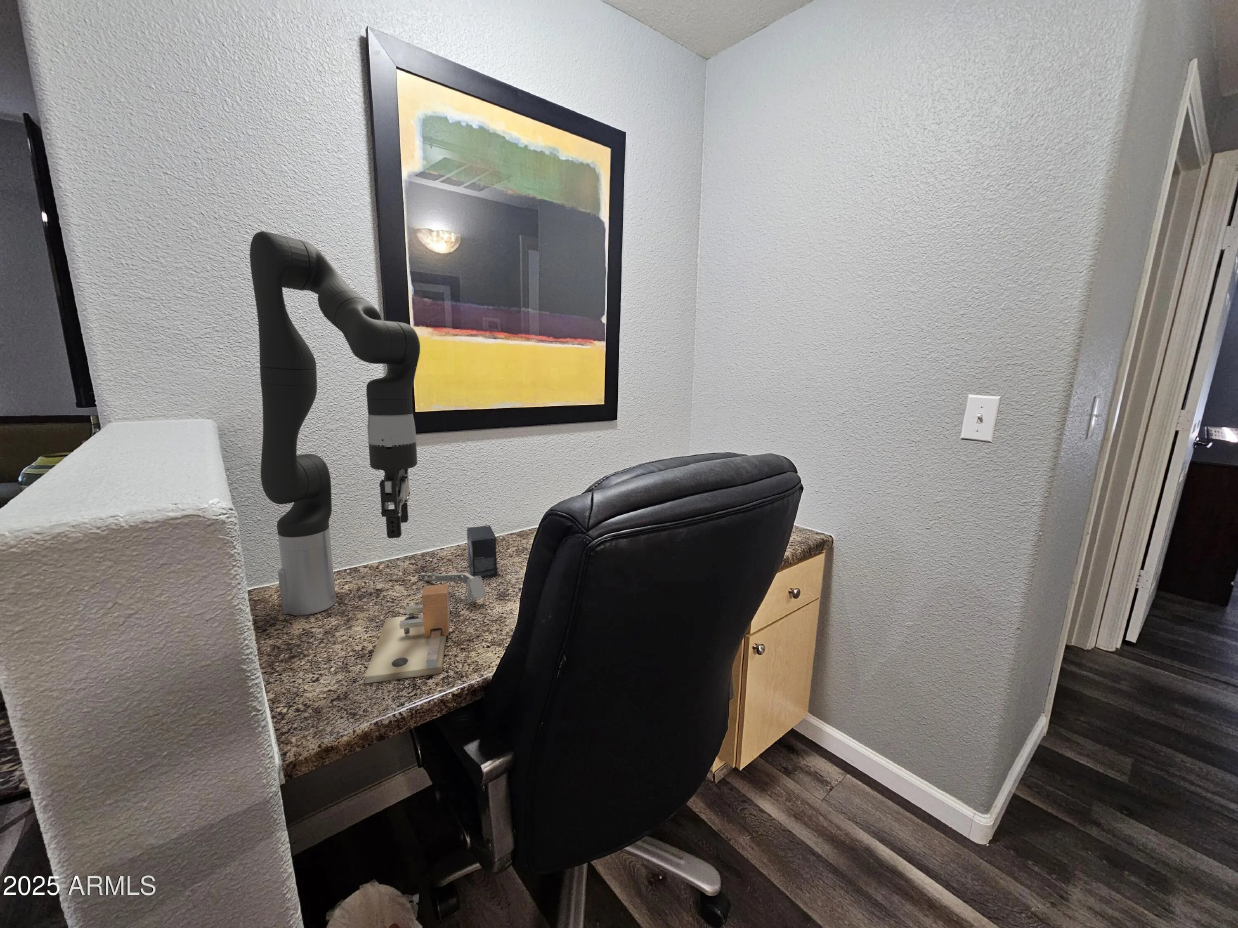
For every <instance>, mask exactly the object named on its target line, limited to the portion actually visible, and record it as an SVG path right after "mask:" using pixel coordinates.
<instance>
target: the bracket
mask: <svg viewBox="0 0 1238 928" xmlns="http://www.w3.org/2000/svg"><path fill="white" fill-rule="evenodd" d="M419 574H420V577H421V581H424V582H447V583H449V582H450V583H451V582H455V583H458V582H459V583H463V584H466V587H465V589H464V590H465V592H464V597H463V598H464V601H465V603H466V604H469V603H470V604H471V603H472V602H473V601H478V600H480V599H483V598H485V597H487V591H486V588H485V585H484V582H483V578H481V576H474V577H473V576H472V574H470V573H467V572H460V573H447V574H445V573H444V574H440V573H439V574H438V573H437V572H436V571H435V572H432V573H430V572H429V573H427V572H422V573H419ZM426 576H427V577H429V576H431V577H435V578H426ZM479 577H480V578H479Z"/></svg>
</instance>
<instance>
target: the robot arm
mask: <svg viewBox="0 0 1238 928" xmlns="http://www.w3.org/2000/svg"><path fill="white" fill-rule="evenodd" d="M249 245H250V247H249V262H250V263H249V265H250V272H251V273H250V274H251V280H252V286H253V287H252V288H253V292H254V299H255V307H256V308H255V309H256V313H257V314H256V315H257V324H258V339H259V341H258V342H259V343H258V345H259V348H258V349H259V375H260V376H259V378H260V387H261V389H260V390H261V399H262V445H261V459H260V481H261V486H262V490H263V493H264V494H265V496H266V497H267V498H268V499H269V501H270V502H272V503H274V504H276V505H288V504H291V503H293V504H292V506H291V508H289V510H288V511H287V512H286V513H285V514H284V515H282V516H281V517H280V518H279V519H278V521H277V523H276V531H277V537H278V538H277V539H278V540H277V541H278V548H279V556H280V564H281V565H280V566H281V568H280V569H279V570H278V571H277V577H278V585H279V594H280V600H281V601H280V602H281V609H282V615H283V614H284V615H285V614H287V615H291V616H292V615H294V616H306V615H307V616H308V615H313V614H316V613H320V612H322V611H323V612H324V611H325V610H328V609H329V608H331V607H332V606H334V605H335V604H336V603H337V596H336V594H337V593H336V587H335V586H336V585H335V574H334V566H333V565H334V563H333V561H334V560H333V554H332V553H333V552H332V551H333V550H332V543H331V531H330V530H331V529H330V518H331V516H332V513H333V511H332V510H333V508H332V507H333V506H332V480H331V479H332V477H331V473H330V469H329V467H328V465H327V463H326V462H325V460H324V459H323V458H322V457H320V456H318V455H317V454H314V453H303V454H297V451H298V450H297V447H298V446H297V445H298V437H299V433H300V430H301V428H302V426H303V424H304V422H305V420H306V418H307V416H308V414H309V412H310V410H311V409H312V407H313V405H314V402H315V401H316V397H317V394H318V393H317V392H318V378H317V377H318V376H317V375H318V373H317V371H318V370H317V361H316V359H315V356H314V353H313V352H312V350H311V348H310V347H309V345H308V344H307V342H306V340H305V339H304V337H302V335H301V333H300V332H299V331H298V330H297V329H298V328H296V326H295V324H294V323H293V321H292V319H291V317H290V315H289V313H288V310H287V307H286V304H285V299H284V290H283V289H290V290H294V291H295V290H297V291H308V292H312V293H314V294H316V295H317V304H318V307H319V310H320V311H321V313H322V315H323V316H324V318H326V319H327V321H329V322H330V323H331V324H332V325H333V326H334V327H335V328H336V329H338V330H339V331H340V332H341V333H342V334H343V337H344V338H345V340H346V342H347V345H348V346H349V349H350V350H351V353H352V354H353V355H354V356H355V357H356V358H358V359H359V360H361V361H362V362H365V363H366V364H367V363H368V364H371V365H372V364H374V365H375V364H377V365H379V364H380V365H389V367H388V369H387V373H386V374H385V375H384V376H382V377H379V378H374V379H371V380H369V382H367V384H366V389H365V392H366V404H367V405H366V407H367V443H368V444H367V445H368V453H369V454H368V456H369V466H370V469H373V470H375V471H376V470H377V471H383V472H384V476H383V479H381V480H380V482H379V489H380V490H379V491H380V493H379V495H380V509H381V510H380V514H381V517H382V518H385V524H386V526H385V528H386V537H387V538H388V539H398V538H401V537H402V532H403V531H402V524H404V523H405V524H406V523H408V521H409V506H408V502H409V500H410V495H411V492H410V477H409V469H412V468H415V467H416V466H417V465H418V453H417V452H418V451H417V450H418V449H417V433H416V432H417V431H416V425H415V424H416V423H415V418H414V409H413V408H414V407H413V386H414V383H415V382H414V381H415V379H416V378H415V377H416V373H417V372H416V371H417V369H418V363H419V360H420V353H421V342H420V339H419V335H418V334H417V331H416V330H415V328H414V327H412V326H411V325H410V324H408V323H406V322H401V321H400V322H399V321H391V320H383V319H382V315H381V314H380V312H379V310H378V309H377V308H376V307H375V306H374V305H373V304H372V303H371V302H369V301H368V300H367V299H366V298H365V297H364V296H362V295H361V294H360V293H358V292H357V291H356V290H354V289H353V288H352V287H351V286H350V285H349V284H348V283H347V282H346V281H345V280H344V279H343V277H342V276H341V275H340V273H339V272H338V271H337V270H336V269H335V267H334V266H333V265H332V263H331V262H330V261H329V260H328V259H327V257H326V256H325V255H324V254H323V252H322V251H321V250H320V249H318V248H317V247H316V246H315V245H314V244H312V243H310V242H308V241H305V240H303V239H298V238H294V237H289V236H286V235H282V234H278V233H273V232H270V231H258V232H257V231H256V232H255V233H254V235H253V236H252V238H251V242H250V244H249ZM390 506H393V507H394V508H389V507H390Z"/></svg>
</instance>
